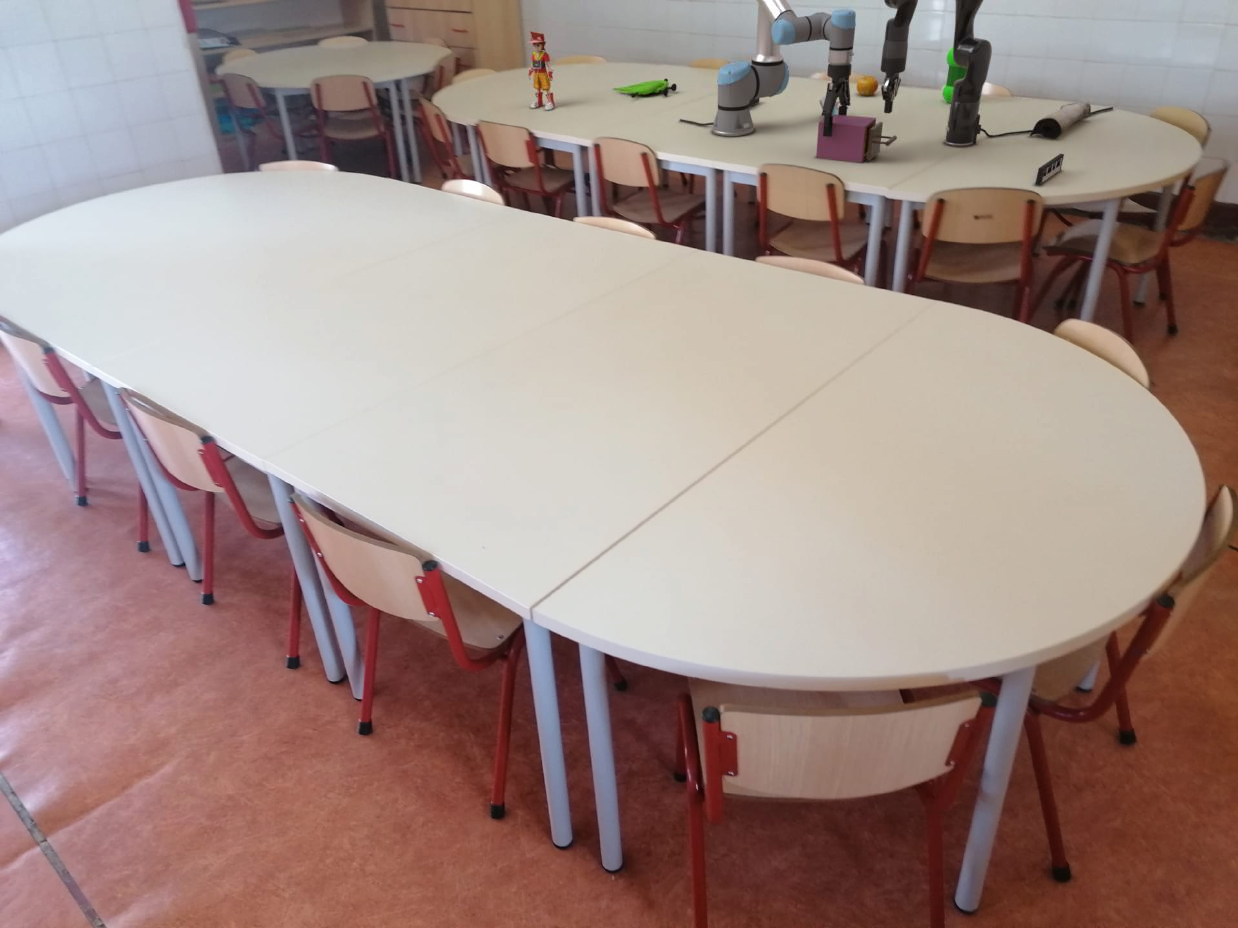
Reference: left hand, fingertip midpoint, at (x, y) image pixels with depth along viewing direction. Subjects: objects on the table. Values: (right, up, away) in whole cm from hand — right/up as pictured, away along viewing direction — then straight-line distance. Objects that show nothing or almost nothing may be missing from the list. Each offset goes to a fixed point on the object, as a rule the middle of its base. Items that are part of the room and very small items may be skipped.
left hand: (834, 131), depth 302 cm
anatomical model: (+10, +20, +42) cm, 48 cm away
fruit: (+30, +41, +70) cm, 86 cm away
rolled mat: (+84, +7, +15) cm, 85 cm away
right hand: (+14, +2, -12) cm, 19 cm away
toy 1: (-105, +40, +81) cm, 139 cm away
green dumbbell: (+60, +31, +53) cm, 86 cm away
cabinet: (+4, -7, +2) cm, 9 cm away
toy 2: (-63, +53, +95) cm, 126 cm away
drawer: (+9, -8, -1) cm, 12 cm away
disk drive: (-23, +35, +65) cm, 77 cm away
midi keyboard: (+59, -25, -27) cm, 70 cm away
